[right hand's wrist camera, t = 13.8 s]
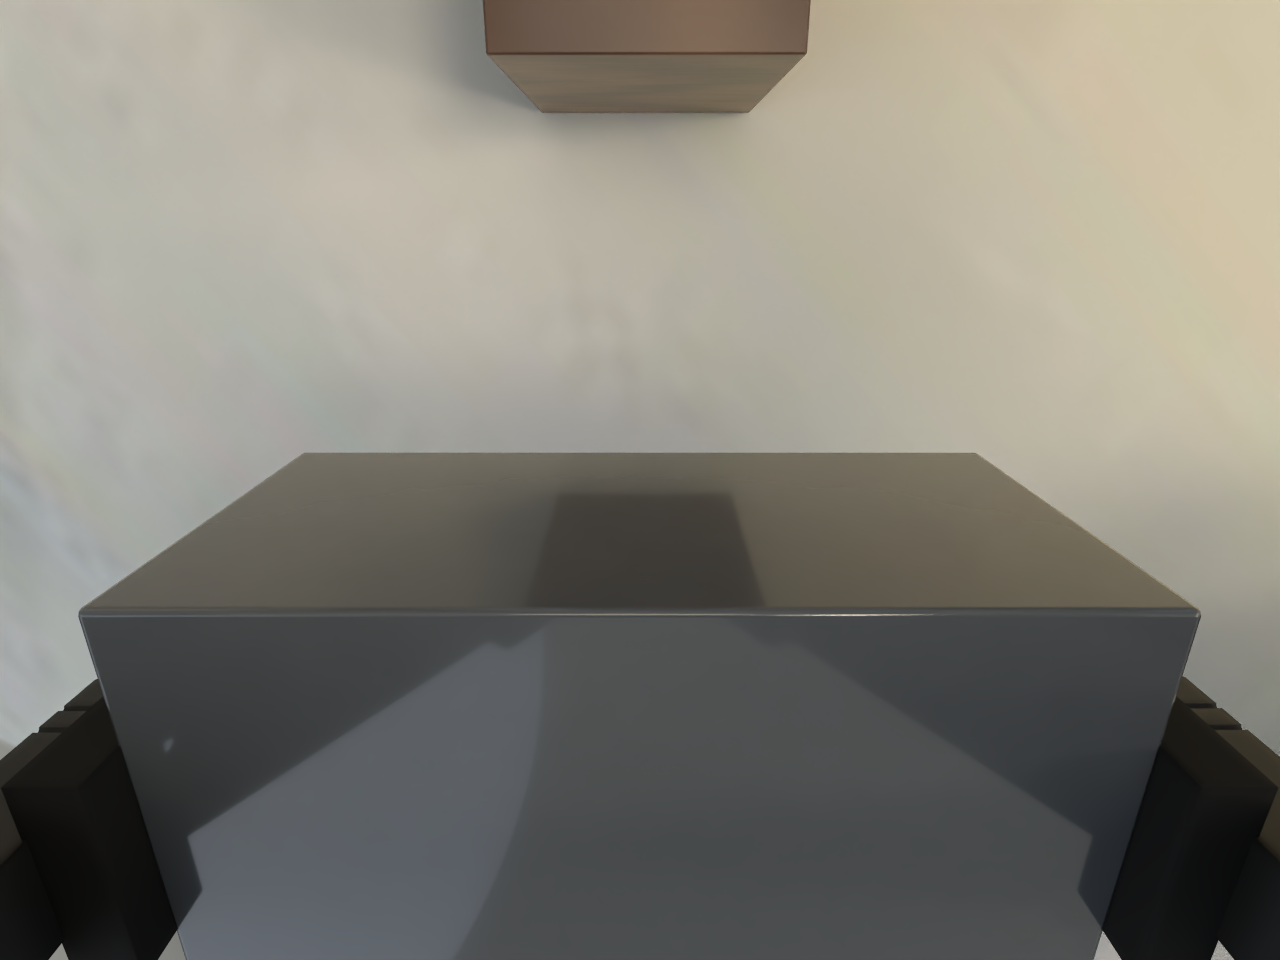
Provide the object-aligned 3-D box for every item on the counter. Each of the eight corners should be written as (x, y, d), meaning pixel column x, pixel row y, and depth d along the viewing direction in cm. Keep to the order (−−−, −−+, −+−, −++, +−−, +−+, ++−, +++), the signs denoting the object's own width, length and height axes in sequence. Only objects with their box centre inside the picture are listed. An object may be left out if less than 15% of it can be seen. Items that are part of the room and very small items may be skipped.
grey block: (976, 451, 12) (1206, 609, 7) (925, 749, 14) (1075, 1027, 9) (301, 451, 12) (70, 610, 7) (353, 748, 14) (203, 1026, 9)
